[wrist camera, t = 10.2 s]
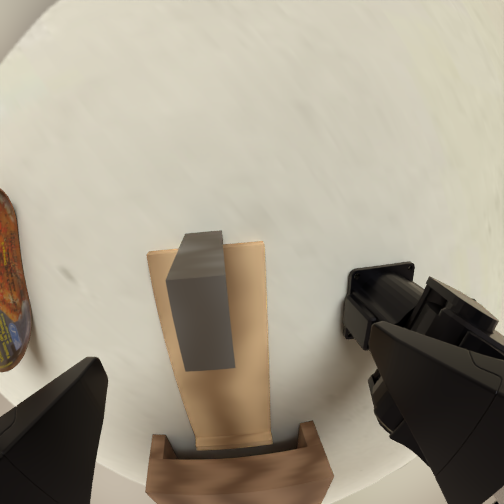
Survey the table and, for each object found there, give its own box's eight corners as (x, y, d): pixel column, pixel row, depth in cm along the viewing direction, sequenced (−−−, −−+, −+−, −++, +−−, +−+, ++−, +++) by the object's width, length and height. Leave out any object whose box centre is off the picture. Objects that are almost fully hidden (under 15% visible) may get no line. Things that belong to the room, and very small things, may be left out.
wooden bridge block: (312, 420, 26) (334, 476, 19) (305, 460, 30) (319, 505, 22) (152, 434, 25) (145, 492, 17) (175, 472, 28) (173, 519, 20)
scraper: (261, 227, 19) (291, 268, 12) (269, 430, 26) (283, 488, 19) (147, 237, 18) (106, 284, 11) (197, 436, 25) (198, 496, 18)
